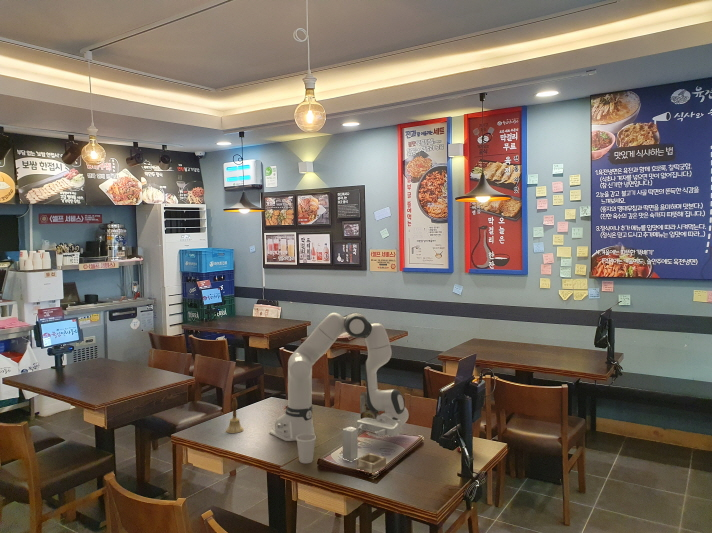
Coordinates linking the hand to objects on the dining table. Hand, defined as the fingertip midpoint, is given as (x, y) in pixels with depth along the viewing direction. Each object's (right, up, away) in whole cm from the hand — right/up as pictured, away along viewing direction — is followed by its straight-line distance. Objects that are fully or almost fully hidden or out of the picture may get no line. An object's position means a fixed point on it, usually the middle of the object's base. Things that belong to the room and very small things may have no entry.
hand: (367, 431), depth 229 cm
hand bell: (-64, -7, +25) cm, 69 cm away
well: (+1, -9, -20) cm, 22 cm away
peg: (-8, -9, -9) cm, 15 cm away
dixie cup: (-26, -9, -11) cm, 29 cm away
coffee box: (+2, -7, +33) cm, 34 cm away
